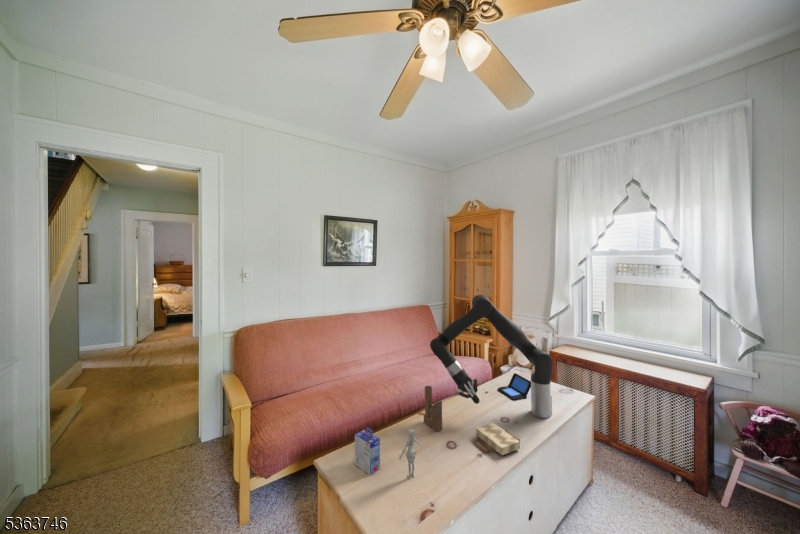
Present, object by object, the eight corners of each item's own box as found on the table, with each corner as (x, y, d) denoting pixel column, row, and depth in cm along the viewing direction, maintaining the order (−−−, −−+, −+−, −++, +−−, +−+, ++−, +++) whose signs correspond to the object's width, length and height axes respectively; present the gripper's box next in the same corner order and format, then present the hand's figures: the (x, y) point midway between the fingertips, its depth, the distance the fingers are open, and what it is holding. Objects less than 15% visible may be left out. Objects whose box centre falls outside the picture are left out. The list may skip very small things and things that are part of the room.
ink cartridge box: (381, 468, 114) (380, 432, 114) (370, 476, 110) (369, 438, 110) (365, 457, 121) (364, 422, 120) (354, 464, 117) (353, 428, 116)
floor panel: (506, 431, 137) (506, 429, 137) (519, 441, 129) (519, 439, 129) (473, 443, 129) (473, 440, 129) (486, 453, 121) (486, 451, 121)
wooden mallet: (436, 432, 137) (435, 394, 137) (423, 421, 147) (422, 386, 146) (442, 429, 139) (442, 392, 139) (429, 419, 149) (428, 384, 148)
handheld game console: (496, 390, 181) (496, 375, 181) (514, 386, 185) (514, 372, 185) (514, 401, 166) (514, 385, 166) (532, 397, 171) (532, 382, 170)
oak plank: (493, 422, 137) (519, 441, 123) (493, 429, 137) (519, 449, 123) (476, 428, 133) (501, 448, 119) (476, 435, 133) (502, 456, 119)
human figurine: (420, 467, 114) (419, 422, 114) (426, 472, 111) (426, 426, 111) (395, 482, 107) (395, 433, 106) (402, 488, 104) (401, 438, 103)
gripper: (449, 378, 144) (471, 410, 138) (468, 363, 149) (490, 394, 144) (444, 380, 150) (465, 411, 145) (463, 366, 156) (483, 395, 150)
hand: (478, 402), depth 144 cm, fingers closed
